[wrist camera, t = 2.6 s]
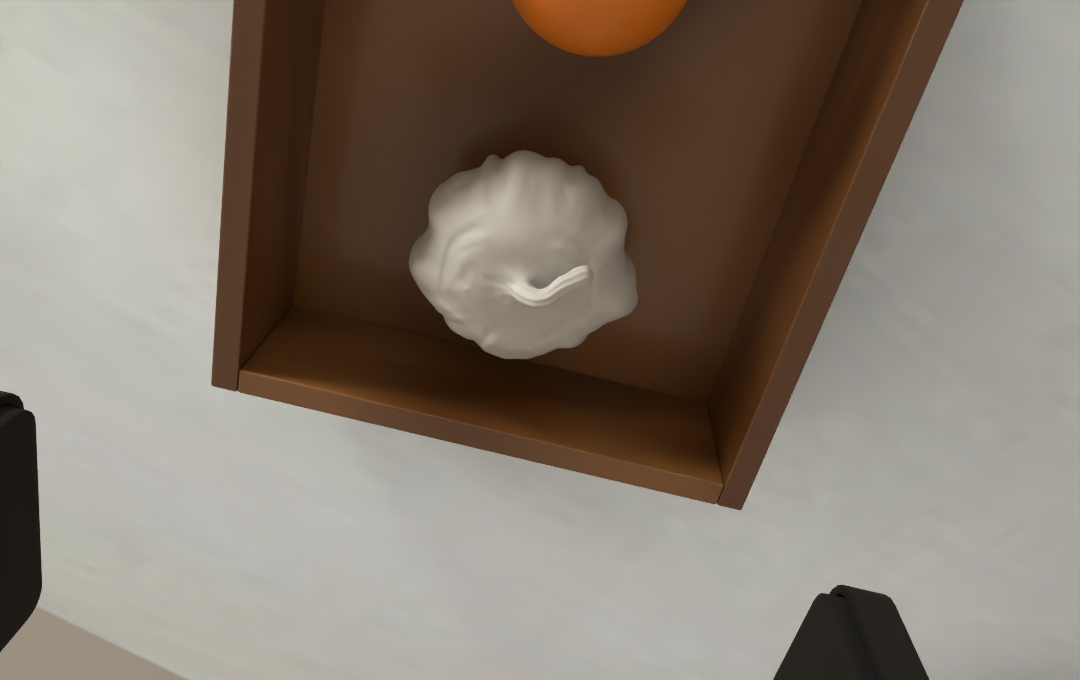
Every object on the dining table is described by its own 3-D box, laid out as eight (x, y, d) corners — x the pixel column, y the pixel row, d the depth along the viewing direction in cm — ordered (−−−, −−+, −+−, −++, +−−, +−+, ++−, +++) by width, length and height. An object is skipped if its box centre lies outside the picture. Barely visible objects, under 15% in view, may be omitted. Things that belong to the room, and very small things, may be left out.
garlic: (654, 145, 22) (667, 202, 17) (624, 326, 24) (628, 418, 20) (433, 117, 22) (386, 166, 17) (424, 300, 25) (381, 386, 20)
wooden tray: (955, -170, 19) (1052, -198, 15) (720, 421, 26) (741, 511, 22) (333, -340, 18) (256, -417, 14) (272, 314, 25) (210, 386, 21)
